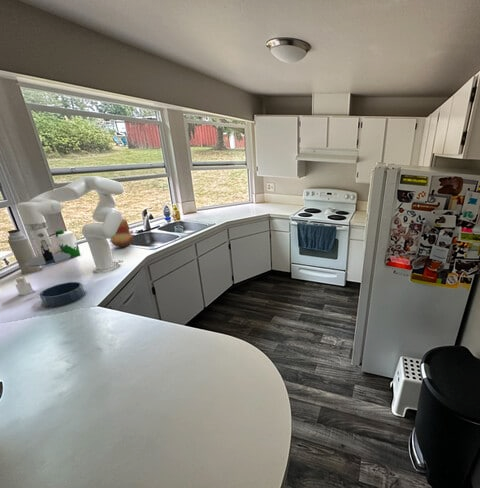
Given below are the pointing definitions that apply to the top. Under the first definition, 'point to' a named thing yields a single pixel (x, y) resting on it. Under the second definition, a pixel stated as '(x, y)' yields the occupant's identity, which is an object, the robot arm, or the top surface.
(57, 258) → the lid
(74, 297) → the pot
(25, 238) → the thermos bottle
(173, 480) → the top surface
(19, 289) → the pepper shaker
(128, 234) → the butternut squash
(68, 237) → the milk carton
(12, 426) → the top surface
